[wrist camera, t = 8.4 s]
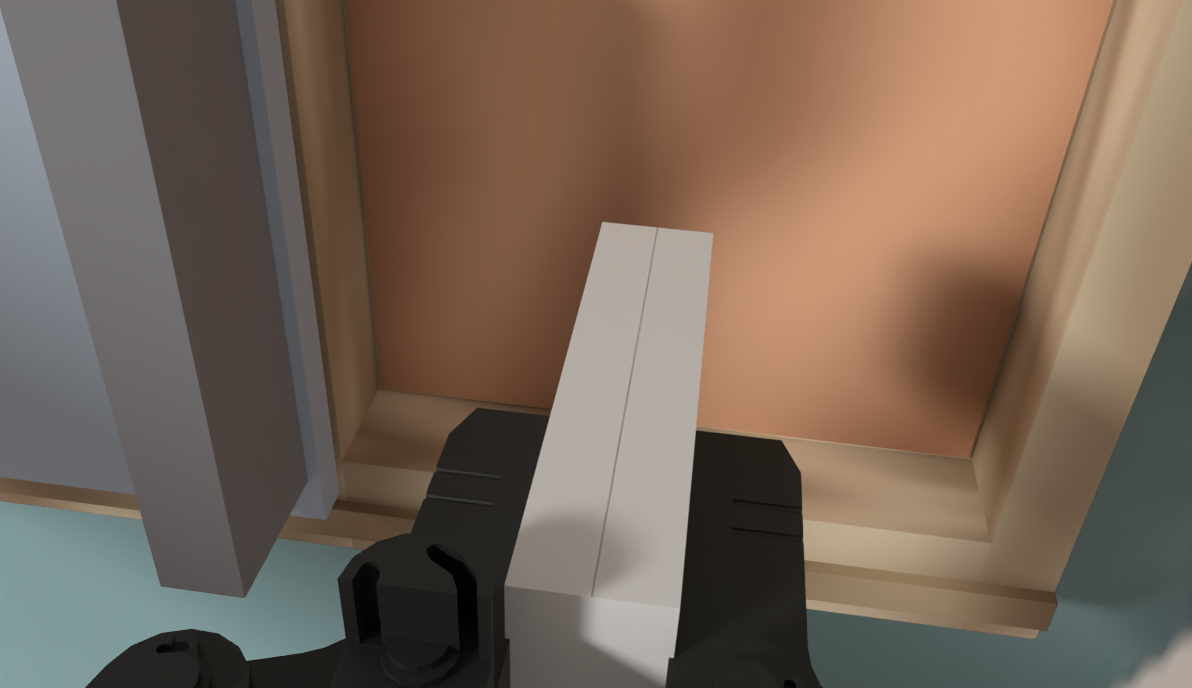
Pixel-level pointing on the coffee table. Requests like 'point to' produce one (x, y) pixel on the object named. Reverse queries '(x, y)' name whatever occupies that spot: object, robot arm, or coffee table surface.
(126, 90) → the lid
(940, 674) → the coffee table surface
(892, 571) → the board
